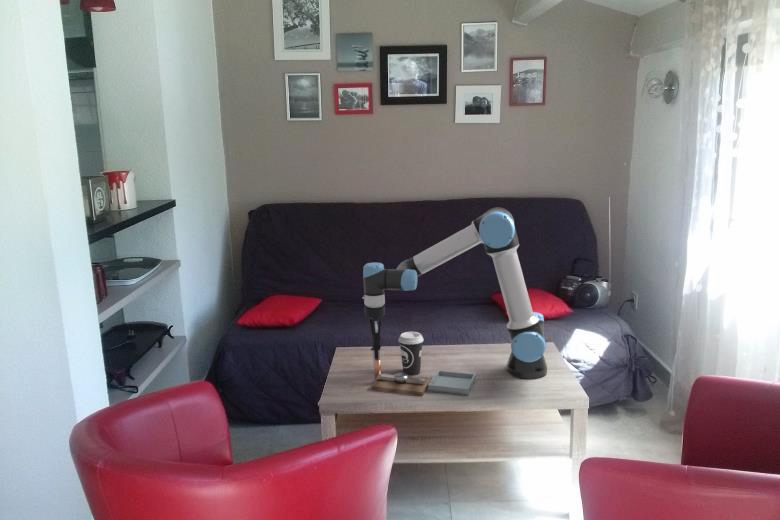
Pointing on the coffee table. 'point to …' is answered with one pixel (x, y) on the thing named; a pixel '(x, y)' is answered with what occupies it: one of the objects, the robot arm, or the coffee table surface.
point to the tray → (452, 382)
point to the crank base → (401, 386)
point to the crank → (397, 377)
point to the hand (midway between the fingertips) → (376, 365)
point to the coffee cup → (411, 352)
